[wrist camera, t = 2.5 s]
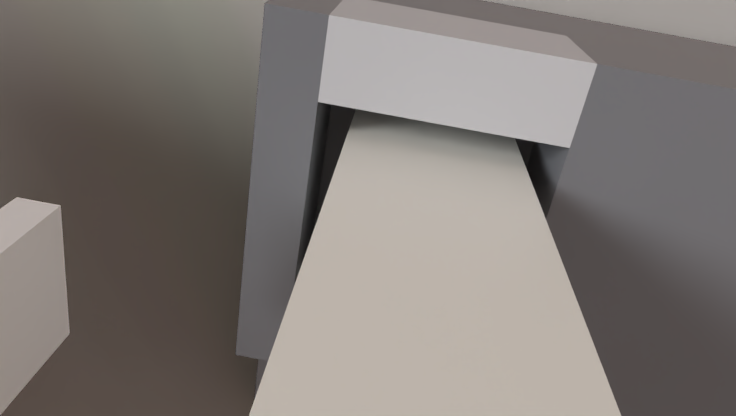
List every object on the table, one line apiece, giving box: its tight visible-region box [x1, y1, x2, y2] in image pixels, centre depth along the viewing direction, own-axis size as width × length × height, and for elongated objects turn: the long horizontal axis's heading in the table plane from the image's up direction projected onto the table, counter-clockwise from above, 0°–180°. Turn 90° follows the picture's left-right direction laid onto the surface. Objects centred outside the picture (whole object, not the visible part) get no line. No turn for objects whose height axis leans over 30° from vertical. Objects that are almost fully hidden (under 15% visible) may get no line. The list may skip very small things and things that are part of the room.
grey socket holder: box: [236, 0, 736, 416], centre depth 19 cm, size 18×18×7 cm
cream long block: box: [249, 109, 621, 416], centre depth 11 cm, size 4×4×13 cm
